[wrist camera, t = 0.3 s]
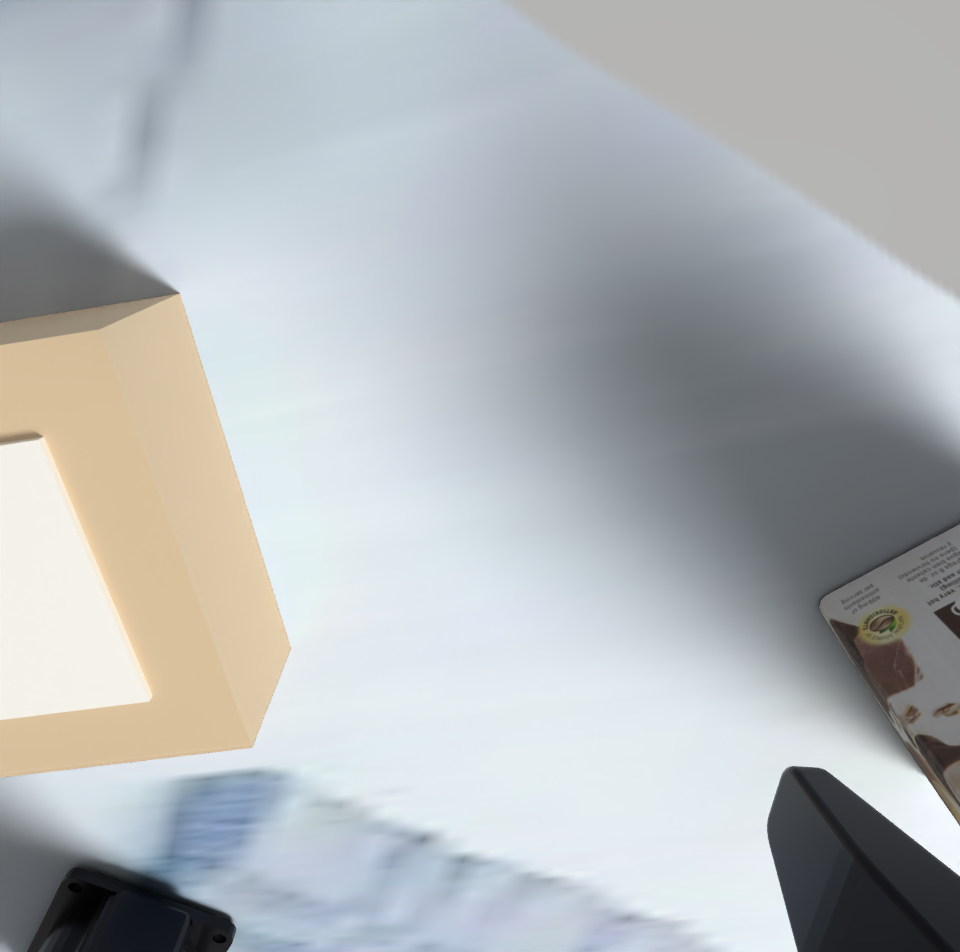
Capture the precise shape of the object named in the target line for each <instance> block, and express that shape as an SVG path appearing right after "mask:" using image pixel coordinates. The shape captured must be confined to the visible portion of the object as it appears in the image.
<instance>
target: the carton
mask: <svg viewBox="0 0 960 952" xmlns="http://www.w3.org/2000/svg"><path fill="white" fill-rule="evenodd" d="M290 650H291V646H290V643H289V640H288V636H287V633H286V630H285V627H284V624H283V620H282V617H281V614H280V611H279V608H278V604H277V601H276V598H275V595H274V592H273V589H272V585H271V582H270V579H269V576H268V573H267V569H266V566H265V563H264V560H263V557H262V553H261V550H260V547H259V544H258V541H257V538H256V534H255V531H254V528H253V525H252V522H251V518H250V515H249V512H248V509H247V506H246V503H245V499H244V496H243V493H242V490H241V487H240V483H239V480H238V477H237V474H236V471H235V467H234V464H233V461H232V458H231V455H230V452H229V448H228V445H227V442H226V439H225V436H224V432H223V429H222V426H221V423H220V420H219V416H218V413H217V410H216V407H215V404H214V401H213V397H212V394H211V391H210V388H209V385H208V381H207V378H206V375H205V372H204V369H203V366H202V362H201V359H200V356H199V353H198V350H197V346H196V343H195V340H194V337H193V334H192V330H191V327H190V324H189V321H188V318H187V315H186V311H185V308H184V305H183V302H182V299H181V295H180V293H179V294H173V295H167V296H160V297H154V298H148V299H142V300H136V301H130V302H123V303H117V304H111V305H105V306H99V307H93V308H87V309H80V310H74V311H68V312H62V313H56V314H50V315H43V316H37V317H31V318H25V319H19V320H13V321H7V322H0V778H1V777H9V776H18V775H26V774H35V773H43V772H51V771H60V770H68V769H77V768H85V767H93V766H102V765H110V764H119V763H127V762H136V761H144V760H152V759H161V758H169V757H178V756H186V755H194V754H203V753H211V752H220V751H228V750H236V749H245V748H252V747H253V744H254V742H255V739H256V737H257V734H258V732H259V729H260V727H261V724H262V721H263V719H264V716H265V714H266V711H267V709H268V706H269V704H270V701H271V698H272V696H273V693H274V691H275V688H276V686H277V683H278V681H279V678H280V675H281V673H282V670H283V668H284V665H285V663H286V660H287V658H288V655H289V652H290Z"/></svg>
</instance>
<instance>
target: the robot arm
mask: <svg viewBox="0 0 960 952" xmlns="http://www.w3.org/2000/svg"><path fill="white" fill-rule="evenodd" d="M767 833H768V840H769V844H770V848H771V852H772V856H773V859H774V863H775V867H776V871H777V875H778V879H779V882H780V886H781V890H782V894H783V898H784V901H785V905H786V909H787V913H788V917H789V920H790V924H791V928H792V932H793V936H794V940H795V943H796V947H797V951H798V952H960V876H959V875H957V874H956V873H955V872H954V871H952V870H951V869H950V868H948V867H947V866H946V865H945V864H943V863H942V862H941V861H940V860H938V859H937V858H936V857H935V856H933V855H932V854H931V853H930V852H928V851H927V850H926V849H925V848H923V847H922V846H921V845H920V844H918V843H917V842H916V841H914V840H913V839H912V838H911V837H909V836H908V835H907V834H906V833H904V832H903V831H902V830H901V829H899V828H898V827H897V826H896V825H894V824H893V823H892V822H891V821H889V820H888V819H887V818H886V817H884V816H883V815H882V814H881V813H879V812H878V811H877V810H875V809H874V808H873V807H872V806H870V805H869V804H868V803H867V802H865V801H864V800H863V799H862V798H860V797H859V796H858V795H857V794H855V793H854V792H853V791H852V790H850V789H849V788H848V787H847V786H845V785H844V784H843V783H841V782H840V781H839V780H838V779H836V778H835V777H834V776H833V775H831V774H830V773H829V772H827V771H826V770H824V769H821V768H814V767H798V766H791V767H788V768H787V769H785V771H784V772H783V774H782V776H781V779H780V782H779V785H778V788H777V791H776V794H775V797H774V801H773V804H772V807H771V810H770V813H769V817H768V823H767ZM235 932H236V927H235V925H234V924H233V923H231V922H230V921H227V920H225V919H222V918H219V917H216V916H214V915H211V914H208V913H205V912H202V911H200V910H197V909H194V908H191V907H189V906H186V905H183V904H180V903H178V902H175V901H172V900H169V899H166V898H164V897H161V896H158V895H155V894H153V893H150V892H147V891H144V890H141V889H139V888H136V887H133V886H130V885H128V884H125V883H122V882H119V881H117V880H114V879H111V878H108V877H105V876H103V875H100V874H97V873H94V872H92V871H89V870H86V869H82V868H74V869H71V870H70V871H69V872H68V873H67V874H66V876H65V878H64V880H63V881H62V883H61V885H60V887H59V889H58V891H57V893H56V895H55V897H54V899H53V901H52V903H51V905H50V907H49V909H48V911H47V913H46V915H45V917H44V919H43V921H42V923H41V925H40V927H39V929H38V931H37V933H36V935H35V937H34V939H33V941H32V943H31V945H30V947H29V949H28V951H27V952H227V950H228V949H229V947H230V946H231V944H232V942H233V939H234V936H235Z"/></svg>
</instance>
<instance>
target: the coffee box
mask: <svg viewBox="0 0 960 952" xmlns="http://www.w3.org/2000/svg"><path fill="white" fill-rule="evenodd" d="M819 608H820V611H821V613H822V614H823V616H824V618H825V619H826V621H827V623H828V624H829V626H830V628H831V629H832V631H833V632H834V634H835V636H836V637H837V639H838V640H839V642H840V644H841V645H842V647H843V648H844V650H845V651H846V653H847V654H848V656H849V658H850V659H851V661H852V662H853V664H854V665H855V667H856V668H857V670H858V672H859V673H860V675H861V676H862V678H863V679H864V681H865V683H866V684H867V686H868V687H869V689H870V690H871V692H872V694H873V695H874V697H875V699H876V700H877V702H878V703H879V705H880V706H881V708H882V710H883V711H884V713H885V714H886V716H887V717H888V719H889V721H890V722H891V724H892V725H893V727H894V728H895V730H896V732H897V733H898V735H899V736H900V738H901V739H902V741H903V743H904V744H905V746H906V747H907V749H908V750H909V752H910V753H911V755H912V756H913V758H914V759H915V761H916V762H917V763H918V765H919V766H920V768H921V769H922V771H923V773H924V774H925V776H926V777H927V779H928V780H929V782H930V783H931V785H932V786H933V787H934V789H935V790H936V792H937V793H938V795H939V796H940V798H941V799H942V801H943V802H944V804H945V805H946V806H947V808H948V809H949V811H950V812H951V814H952V815H953V816H954V818H955V819H956V821H957V822H958V824H959V825H960V524H959V525H957V526H955V527H953V528H951V529H950V530H948V531H946V532H944V533H942V534H940V535H938V536H936V537H934V538H932V539H930V540H928V541H927V542H925V543H923V544H921V545H919V546H917V547H915V548H914V549H912V550H910V551H908V552H906V553H904V554H902V555H900V556H899V557H897V558H895V559H893V560H891V561H889V562H887V563H885V564H884V565H882V566H880V567H878V568H876V569H874V570H872V571H870V572H869V573H867V574H865V575H863V576H861V577H859V578H857V579H855V580H854V581H852V582H850V583H848V584H846V585H844V586H842V587H841V588H839V589H837V590H835V591H833V592H831V593H829V594H828V595H826V596H824V597H823V599H822V600H821V602H820V606H819Z"/></svg>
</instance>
